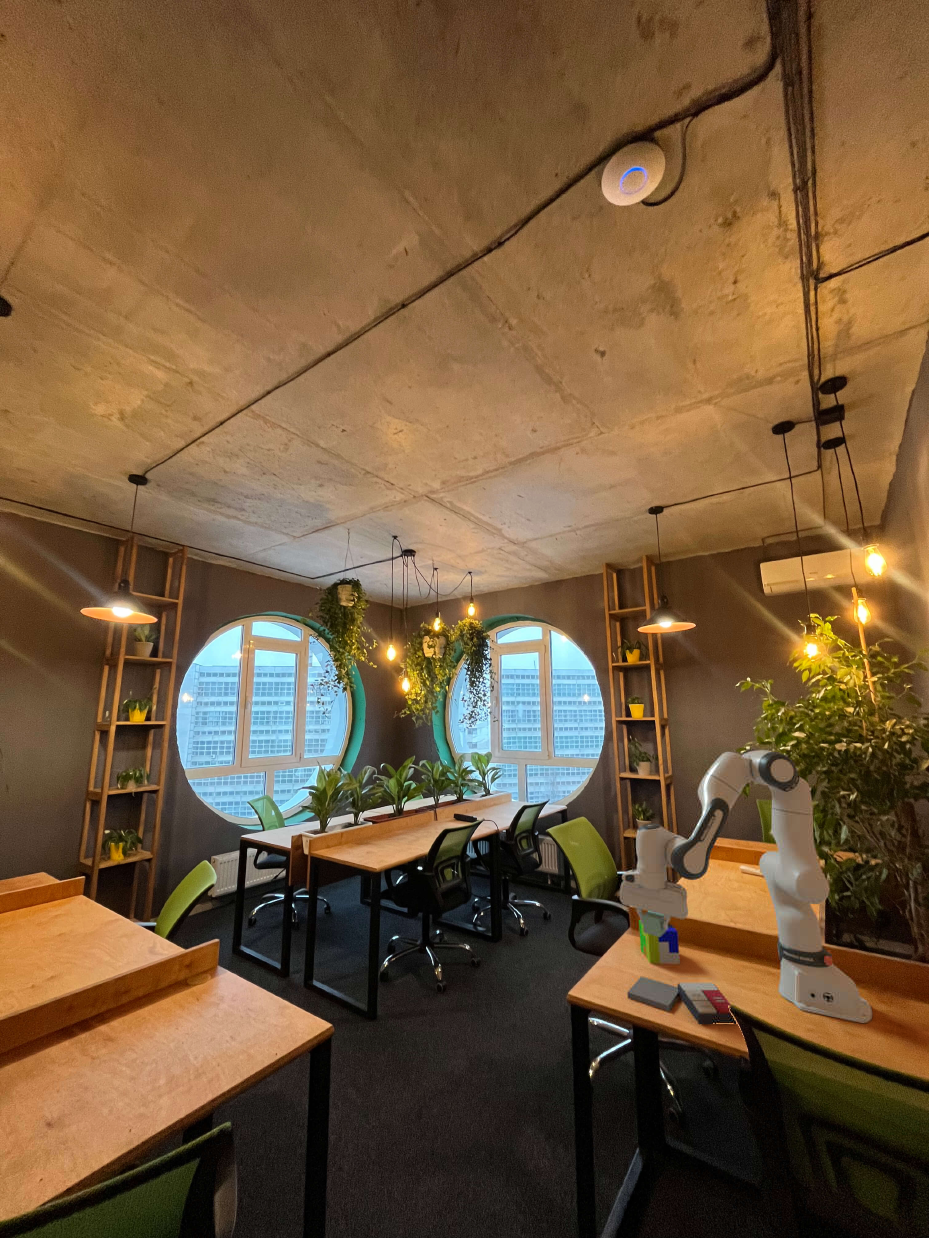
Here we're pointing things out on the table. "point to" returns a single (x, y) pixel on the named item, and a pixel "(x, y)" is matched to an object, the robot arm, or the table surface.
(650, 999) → the slate coaster
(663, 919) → the teal cube
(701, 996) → the calculator
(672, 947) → the puzzle toy
